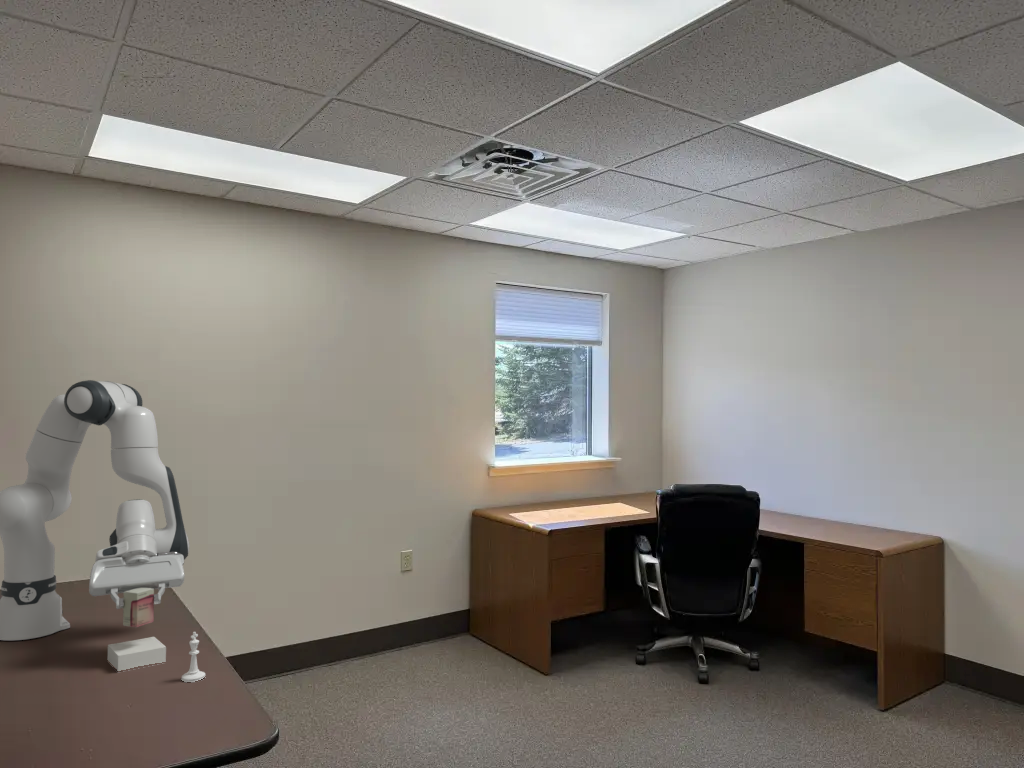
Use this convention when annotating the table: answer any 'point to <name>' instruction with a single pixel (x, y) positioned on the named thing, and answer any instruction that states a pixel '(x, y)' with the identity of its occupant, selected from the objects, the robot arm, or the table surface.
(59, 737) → the table surface
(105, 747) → the table surface
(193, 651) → the chess piece
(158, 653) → the off-white block
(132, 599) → the small box
